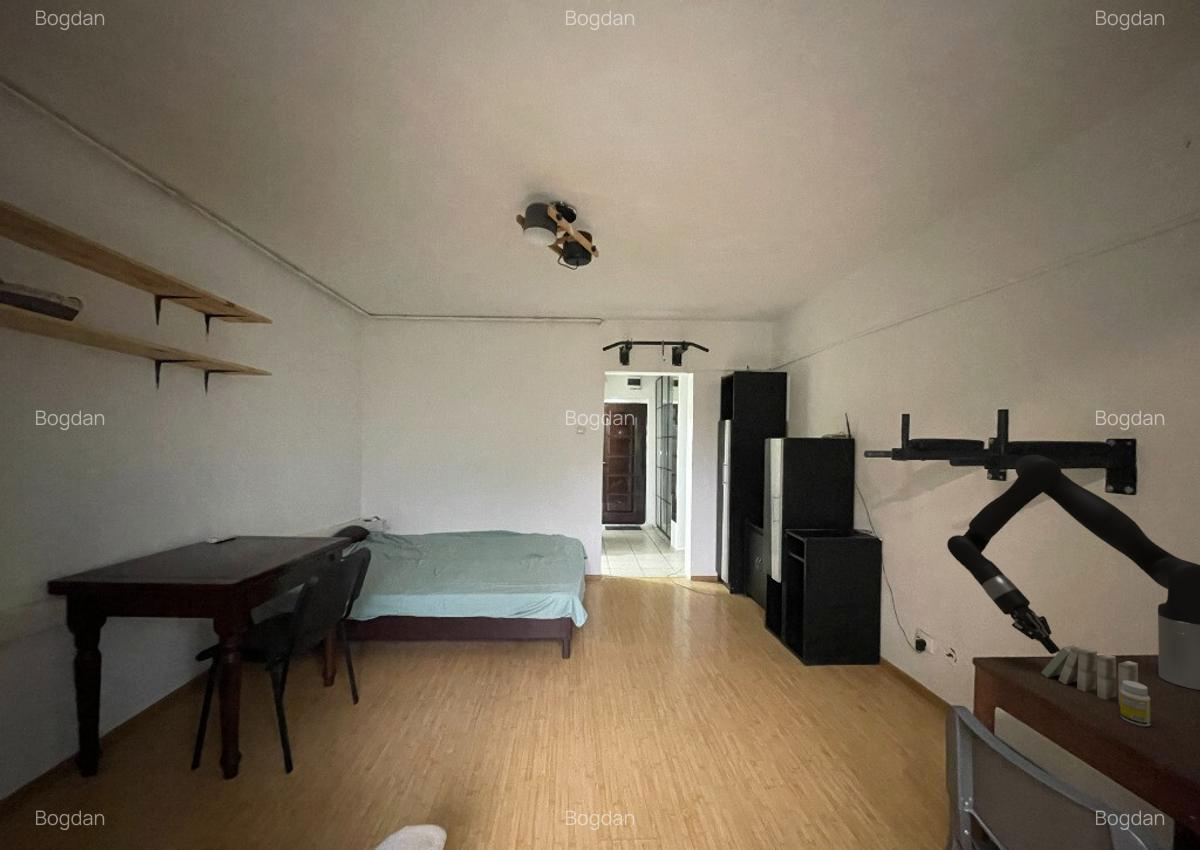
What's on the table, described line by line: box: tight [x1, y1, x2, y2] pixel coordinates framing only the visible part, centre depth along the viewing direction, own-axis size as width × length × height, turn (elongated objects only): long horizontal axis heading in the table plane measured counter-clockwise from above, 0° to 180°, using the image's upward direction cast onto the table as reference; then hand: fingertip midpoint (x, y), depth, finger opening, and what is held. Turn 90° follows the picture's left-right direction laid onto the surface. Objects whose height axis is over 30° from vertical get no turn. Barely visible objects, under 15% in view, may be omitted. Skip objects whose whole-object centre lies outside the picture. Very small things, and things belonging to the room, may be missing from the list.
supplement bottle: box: [1119, 680, 1152, 727], centre depth 112 cm, size 5×5×8 cm
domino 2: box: [1058, 645, 1087, 685], centre depth 130 cm, size 5×2×10 cm, turn 112°
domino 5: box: [1117, 660, 1139, 706], centre depth 120 cm, size 5×2×10 cm, turn 112°
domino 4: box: [1096, 653, 1117, 700], centre depth 124 cm, size 5×2×10 cm, turn 112°
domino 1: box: [1040, 644, 1076, 679], centre depth 132 cm, size 5×2×10 cm, turn 112°
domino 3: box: [1076, 648, 1098, 693], centre depth 127 cm, size 5×2×10 cm, turn 112°
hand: (1055, 652), depth 133 cm, fingers closed
